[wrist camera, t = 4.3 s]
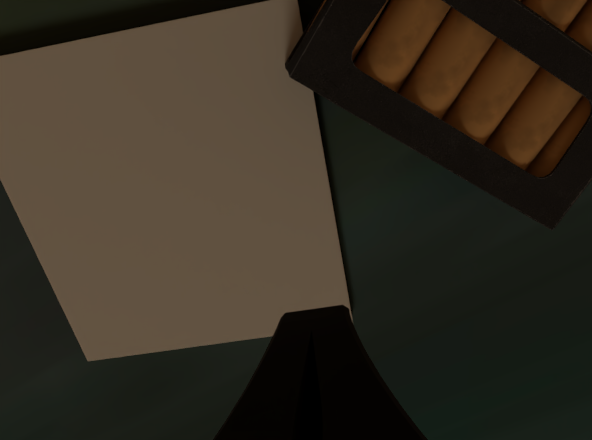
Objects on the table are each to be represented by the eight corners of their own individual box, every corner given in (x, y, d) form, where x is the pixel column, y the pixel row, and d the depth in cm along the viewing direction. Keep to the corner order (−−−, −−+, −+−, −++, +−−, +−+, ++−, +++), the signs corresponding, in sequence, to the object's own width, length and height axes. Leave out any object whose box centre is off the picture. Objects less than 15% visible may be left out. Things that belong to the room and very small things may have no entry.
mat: (296, -6, 16) (296, -5, 15) (352, 316, 22) (353, 324, 21) (-42, 64, 17) (-54, 67, 17) (93, 352, 23) (87, 361, 22)
